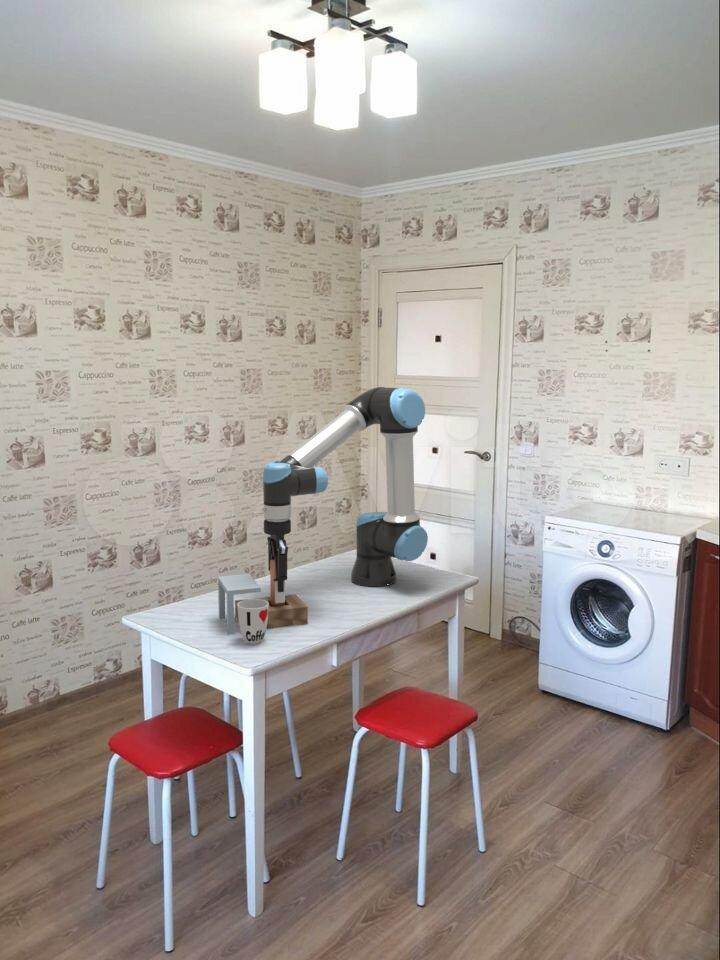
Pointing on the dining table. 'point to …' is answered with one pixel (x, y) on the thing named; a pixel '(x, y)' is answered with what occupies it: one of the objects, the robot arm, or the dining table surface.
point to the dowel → (273, 584)
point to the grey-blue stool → (233, 587)
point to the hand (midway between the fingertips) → (277, 599)
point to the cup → (253, 619)
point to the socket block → (284, 612)
